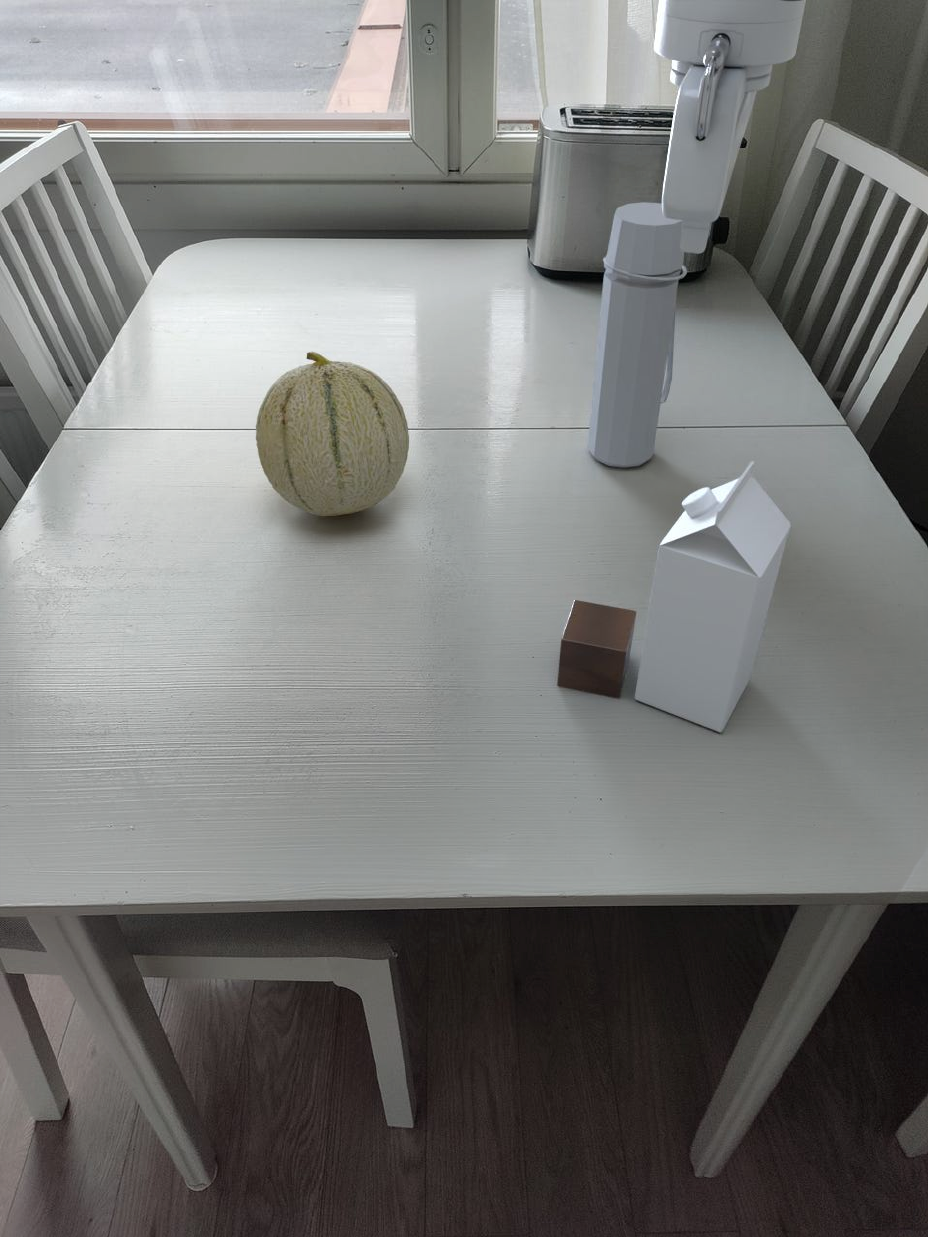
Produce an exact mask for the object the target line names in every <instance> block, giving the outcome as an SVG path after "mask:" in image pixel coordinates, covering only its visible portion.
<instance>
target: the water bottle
mask: <svg viewBox="0 0 928 1237" xmlns="http://www.w3.org/2000/svg"><path fill="white" fill-rule="evenodd" d="M682 228H683V220H677V219H670V218H666V217H665V216H664V215H663V213H662V203H658V202H647V201H646V202H645V201H644V202H635V203H634V202H633V203H627V204H623V205H622V206H619V207H617V208H616V209H615V213H614V215H613V220H612V227H611V231H610V235H609V242H608V246H607V252H606V255H605V256H604V257H603V259H602V261H603V268H604V269H605V270H604V273H603V281H602V290H601V301H600V302H601V303H600V313H599V314H600V315H599V321H598V322H599V323H598V333H597V343H596V344H597V345H596V355H595V365H594V377H593V385H592V386H593V387H592V397H591V407H590V409H591V410H590V417H589V418H590V419H589V430H588V438H587V439H588V440H587V449H588V451H589V453H590V454H591V455H592V456H593V458H594V459H595V461H597V462H599V463H602V464H604V465H606V466H609V467H615V468H623V469H624V468H625V469H626V468H632V467H640V466H641V465H643V464H645V463H646V462H649V460H650V459H652V457H653V456H654V452H655V451H654V450H655V445H656V439H657V438H656V437H657V430H658V423H659V416H660V412H661V411H660V409H661V404H664V403H666V402H667V400H668V397H669V394H670V390H671V386H672V380H673V368H674V365H673V364H674V350H675V331H676V330H675V329H676V315H677V314H676V313H677V312H676V310H677V295H678V294H677V293H678V287H679V286H678V285H679V280H681V279H684V277H685V276H686V275H687V273H688V270H687V266H685V265H684V262H685V252H683V251H682V250H681V248H680V242H681V235H682ZM681 271H682V273H681ZM665 375H666V377H665Z"/></svg>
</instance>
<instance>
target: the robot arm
mask: <svg viewBox="0 0 928 1237" xmlns="http://www.w3.org/2000/svg"><path fill="white" fill-rule="evenodd" d="M806 2H807V0H659V1H658V9H657V18H656V28H655V36H654V46H653V50H654V52H655V53H656V54H657V55H658V56H660V57H662V58H665V59H668V60H670V61H672V62H671V69H670V77H669V81H670V82H671V83H672V84H673V85H674V86H676V87H679V90H678V94H677V96H676V97H677V98H676V102H675V106H674V111H673V117H672V123H671V129H670V137H669V143H668V150H667V151H668V152H667V157H666V165H665V170H664V179H663V184H662V194H661V204H662V213H663V215H664V216H665V217H666V218H670V219H677V220H683V228H682V235H681V242H680V248H681V250H682V251H683V252H684V253H687V254H688V253H689V254H699V255H700V254H702V253H704V252H705V250H706V248H707V244H708V241H709V238H710V235H711V230H712V224H713V222H715V221H717V220H718V218H719V217H720V215H721V213H722V208H723V207H724V206H723V205H724V203H725V199H726V196H727V192H728V189H729V186H730V182H731V179H732V175H733V172H734V168H735V165H736V163H737V159H738V155H739V152H740V148H741V144H742V141H743V139H744V136H745V133H746V130H747V126H748V124H749V120H750V117H751V113H752V111H753V107H754V102H755V99H756V96H757V92H759V91H762V90H764V89H766V88H767V87H768V86H769V85H770V82H771V78H772V70H773V65H778V64H783V63H786V62H789V61H790V60H792V59H793V58H794V57H795V56H796V53H797V48H798V44H799V43H798V42H799V39H800V33H801V29H802V22H803V16H804V13H805V8H806Z"/></svg>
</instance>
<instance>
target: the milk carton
mask: <svg viewBox="0 0 928 1237" xmlns="http://www.w3.org/2000/svg"><path fill="white" fill-rule="evenodd" d="M754 465H755V461H753V460H751V461H750V462H749V464H748V465H747V466H746V468H745V469H744V471H743V472H742V474H741V475H740V476H739V477H738V478H736V479H733V480H731V481H729V482H726V483H724V484H721V485H719V486H717V487H714V488H712V489H711V488H710V487H709V486H706V487H702V488H699V489H697V490H695V491H693V492H692V493H690V494H689V495H688V496H686V497H685V498H684V499H683V500H682V502H681V506H682V508H683V510H684V511H683V512H682V514H681V515H680V516H679V518H678V519H677V521H676V522H675V523H674V525H672V527H671V529H670V530H669V531H668V532H667V534H666V535H665V536H664V538H663V539H662V541H661V542H660V544H659V545H658V549H657V555H656V561H655V566H654V567H655V568H654V573H653V579H652V586H651V593H650V599H649V604H648V611H647V618H646V624H645V629H644V637H643V641H642V642H643V643H642V649H641V655H640V660H639V667H638V672H637V673H638V674H637V679H636V680H637V681H636V687H635V691H634V700H636V701H638V702H641V703H643V704H645V705H648V706H651V707H654V708H656V709H658V710H662V711H664V712H666V713H669V714H671V715H674V716H676V717H679V718H682V719H685V720H687V721H690V722H692V723H695V724H697V725H699V726H703V727H705V728H708V729H709V730H713V731H715V732H718V733H722V732H723V731H724V729H725V727H726V726H727V724H728V722H729V720H730V719H731V716H732V714H733V713H734V710H735V708H736V707H737V705H738V703H739V701H740V699H741V697H742V696H743V693H744V691H745V689H746V687H747V686H748V684H749V681H750V679H751V678H752V672H753V670H754V665H755V663H756V662H755V661H756V659H757V658H756V657H757V654H758V650H759V646H760V642H761V639H762V635H763V631H764V628H765V624H766V620H767V617H768V613H769V609H770V605H771V601H772V599H773V598H772V597H773V593H774V590H775V586H776V582H777V579H778V574H779V571H780V567H781V564H782V560H783V556H784V552H785V548H786V545H787V542H788V537H789V533H790V530H791V526H792V525H791V522H790V521H789V520H788V518H787V517H786V516H785V515H784V512H782V511H781V510H780V508H779V507H778V506H777V505H776V503H775V502H774V501H773V500H772V498H771V497H770V496H769V495H768V493H767V492H766V491H765V489H764V488H763V487H762V486H761V485H760V483H759V482H758V481H757V479H756V478H755V477H754V476H753V470H754Z"/></svg>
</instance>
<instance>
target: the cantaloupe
mask: <svg viewBox="0 0 928 1237" xmlns="http://www.w3.org/2000/svg"><path fill="white" fill-rule="evenodd" d="M306 360H309V361H313V362H312V363H307V364H304V365H300V366H297V367H295V368H293V369H291V370H288V371H286V372H285V373H283V374H282V375H281V376H280V377H279V378H278V379H277V380H276V381H275V382H274V383H273V384H272V385H271V386H270V387H269V389H268V390H267V392H266V394H265V396H264V397H263V400H262V402H261V405H260V407H259V409H258V413H257V417H256V425H255V440H256V447H257V453H258V458H259V463H260V465H261V468H262V471H263V473H264V475H265V477H266V478H267V480H268V482H269V483H270V485H271V488H272V489H273V490H275V491H276V493H277V494H279V496H280V497H282V498H283V499H284V500H285V501H286V502H288V503H290V504H291V505H292V506H294V507H296V508H298V509H300V510H302V511H305V512H307V513H309V514H313V515H315V516H318V517H335V516H342V515H348V514H354V513H359V512H362V511H364V510H366V509H369V508H370V507H373V506H375V505H377V504H378V503H380V502H381V501H382V500H384V499H385V498H386V497H387V496H388V495H389V494H391V493H392V491H393V490H394V489H395V487H396V485H397V483H398V482H399V481H400V479H401V477H402V475H403V474H404V471H405V468H406V465H407V460H408V456H409V448H410V434H409V426H408V425H409V424H408V421H407V420H408V419H407V418H406V414H405V411H404V407H403V405H402V404H401V402H400V400H399V398H398V397H397V395H396V393H395V392H394V390H393V389H392V388H391V386H389V384H388V383H387V382H386V381H384V380H383V379H382V378H381V377H380V376H379V375H378V374H376V373H375V372H373V371H372V370H370V369H368V368H365V367H364V366H361V365H359V364H355V363H352V362H350V361H340V360H330V359H328V358H327V357H325V356H323V355H322V354H320V353H317V352H315V351H310V352H306Z"/></svg>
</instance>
